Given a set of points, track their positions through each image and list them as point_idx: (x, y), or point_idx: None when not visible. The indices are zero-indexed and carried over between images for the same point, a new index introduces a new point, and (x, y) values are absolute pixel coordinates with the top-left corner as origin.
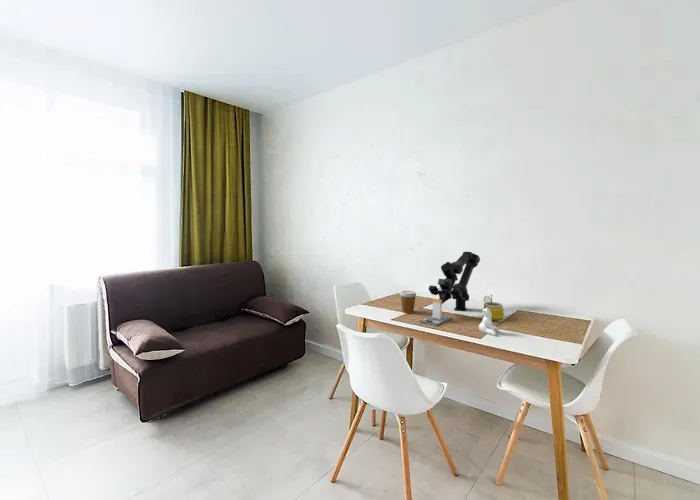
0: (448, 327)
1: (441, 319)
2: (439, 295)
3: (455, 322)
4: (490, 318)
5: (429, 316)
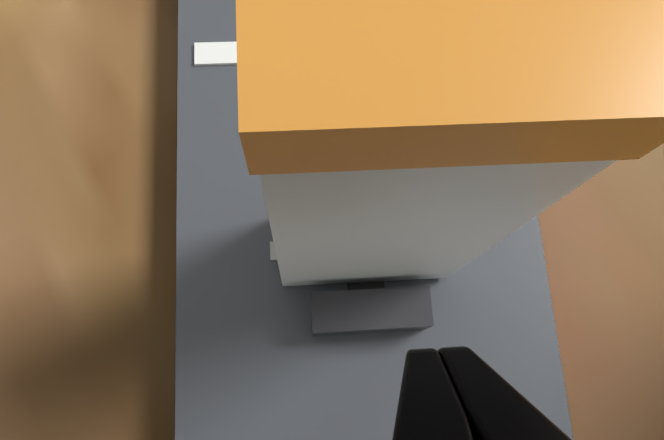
0: (8, 36)
1: (259, 245)
2: None
3: (17, 379)
4: None
5: (542, 262)
